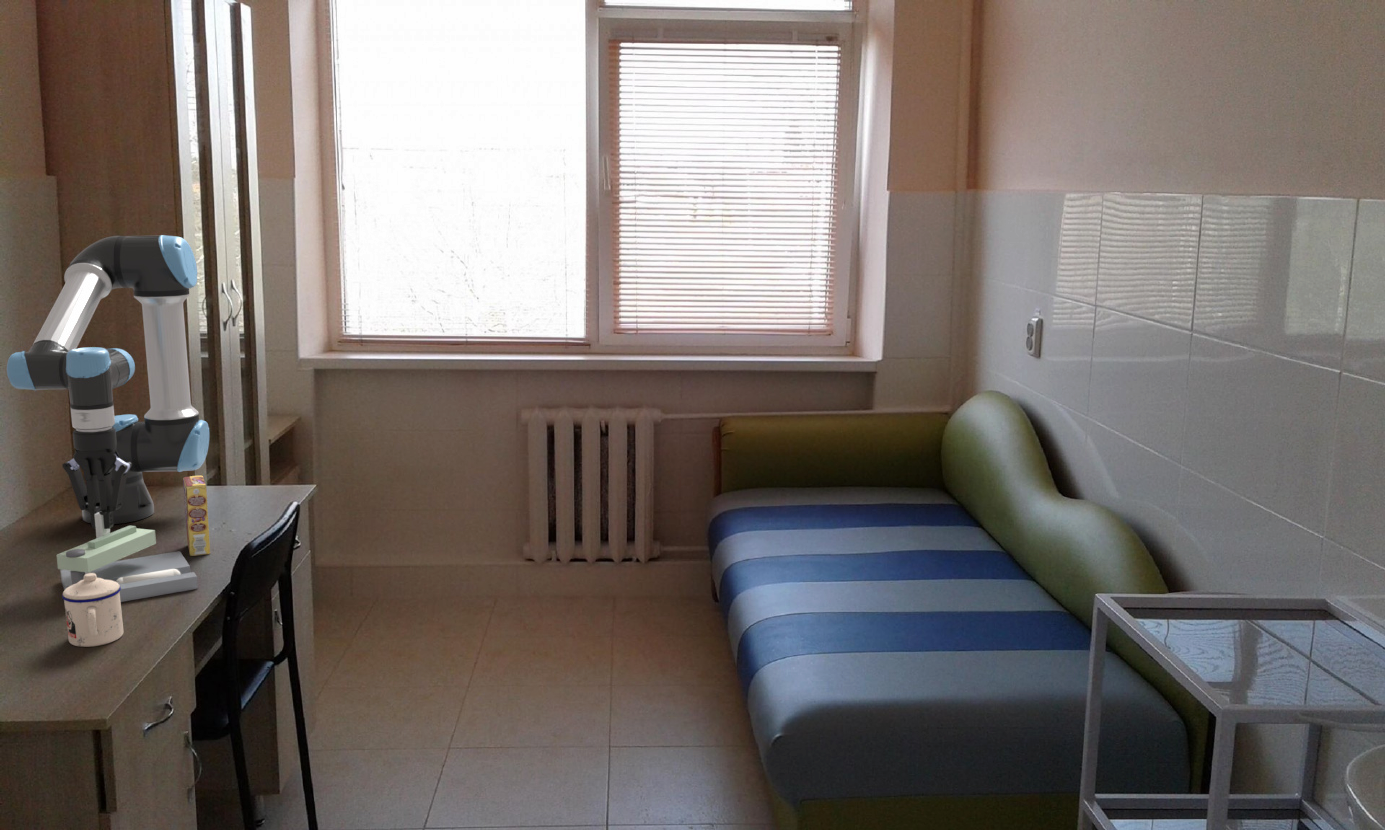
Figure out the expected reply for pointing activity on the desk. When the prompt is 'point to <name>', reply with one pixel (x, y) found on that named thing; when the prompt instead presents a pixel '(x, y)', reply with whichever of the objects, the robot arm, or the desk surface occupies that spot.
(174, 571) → the white rounded rod
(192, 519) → the candy box
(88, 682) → the desk surface
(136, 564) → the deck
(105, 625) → the teacup with lid
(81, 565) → the cover
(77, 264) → the robot arm
